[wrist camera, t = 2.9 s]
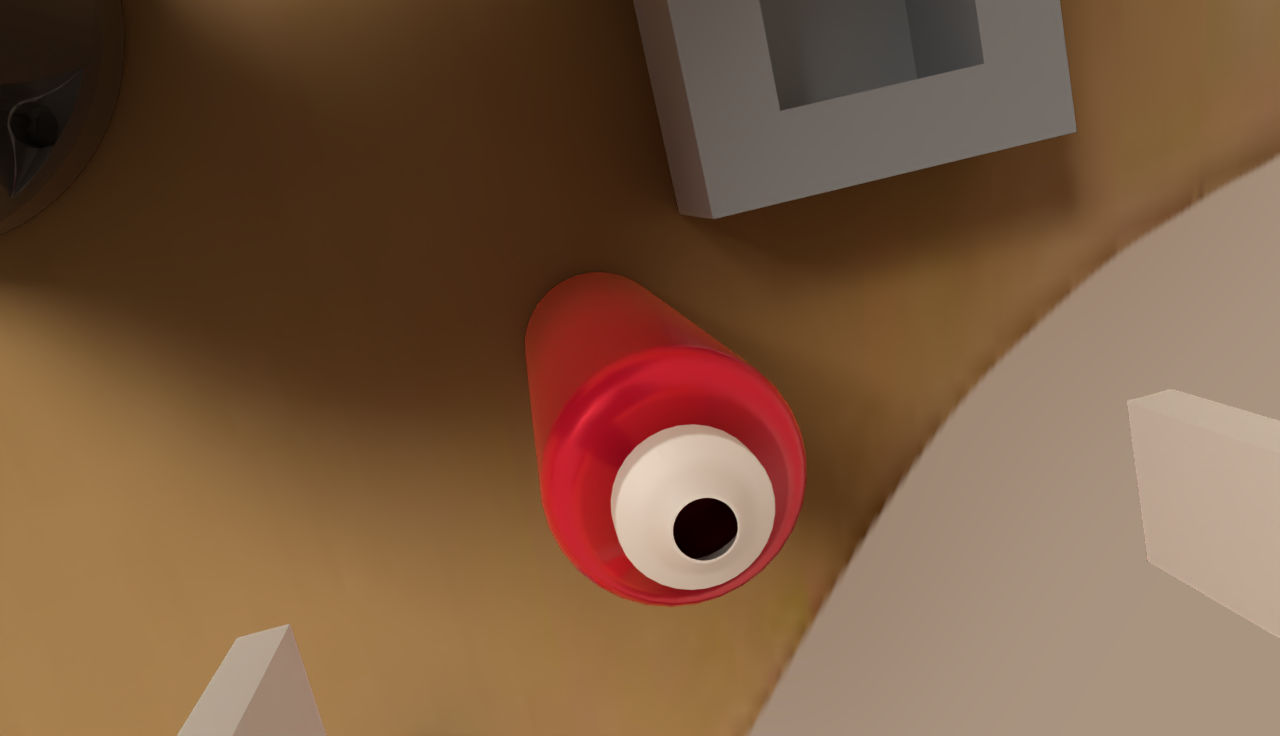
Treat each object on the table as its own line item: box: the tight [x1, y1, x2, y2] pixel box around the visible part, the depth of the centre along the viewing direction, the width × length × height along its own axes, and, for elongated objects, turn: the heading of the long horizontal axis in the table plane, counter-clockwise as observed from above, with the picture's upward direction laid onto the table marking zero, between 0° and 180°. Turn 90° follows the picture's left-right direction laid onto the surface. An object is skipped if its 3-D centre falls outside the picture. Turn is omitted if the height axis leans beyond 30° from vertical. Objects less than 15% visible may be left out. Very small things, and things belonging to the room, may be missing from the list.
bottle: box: [525, 272, 807, 607], centre depth 26 cm, size 6×5×20 cm
